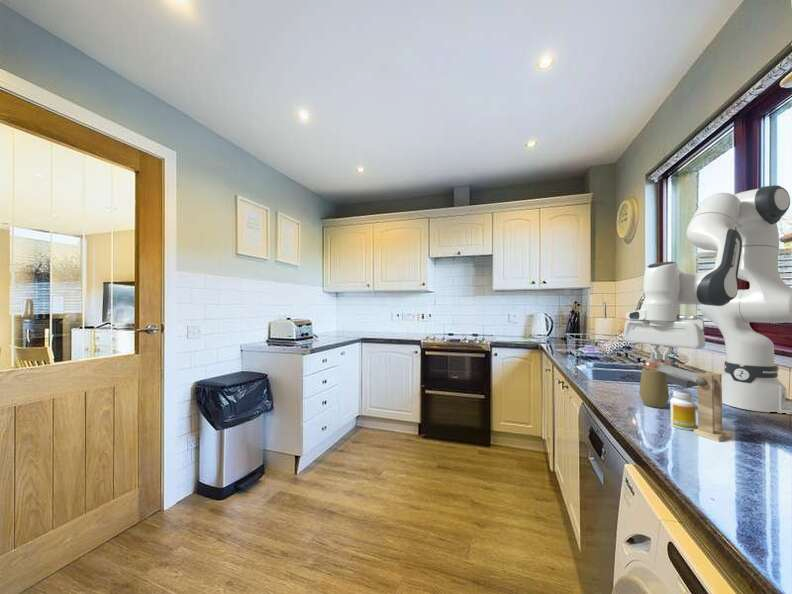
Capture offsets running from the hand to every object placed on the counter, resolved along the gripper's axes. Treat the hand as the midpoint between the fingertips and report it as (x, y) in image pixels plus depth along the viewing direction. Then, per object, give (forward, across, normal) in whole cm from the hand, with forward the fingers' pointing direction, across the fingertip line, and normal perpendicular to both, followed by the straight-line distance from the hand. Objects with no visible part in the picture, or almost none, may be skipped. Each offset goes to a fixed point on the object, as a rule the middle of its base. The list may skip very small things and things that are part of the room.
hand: (661, 360), depth 101 cm
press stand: (+17, -13, +4) cm, 22 cm away
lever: (+5, -6, +3) cm, 8 cm away
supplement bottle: (+18, -7, +4) cm, 19 cm away
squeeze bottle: (+17, +7, -10) cm, 21 cm away
